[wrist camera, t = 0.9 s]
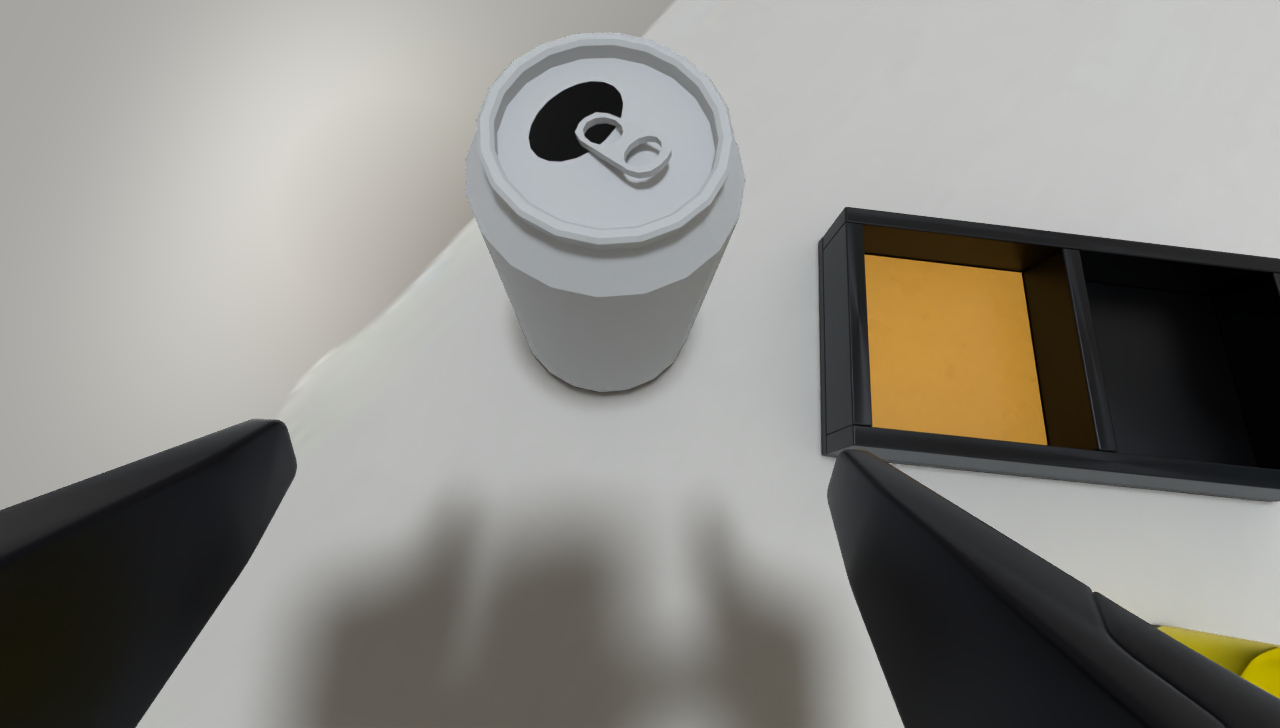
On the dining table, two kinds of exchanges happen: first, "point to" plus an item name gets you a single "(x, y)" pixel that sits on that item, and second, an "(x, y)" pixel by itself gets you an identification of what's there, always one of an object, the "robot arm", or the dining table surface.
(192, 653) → the dining table surface
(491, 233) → the can
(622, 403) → the dining table surface
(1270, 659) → the element tile
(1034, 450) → the black divided tray
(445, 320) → the dining table surface
